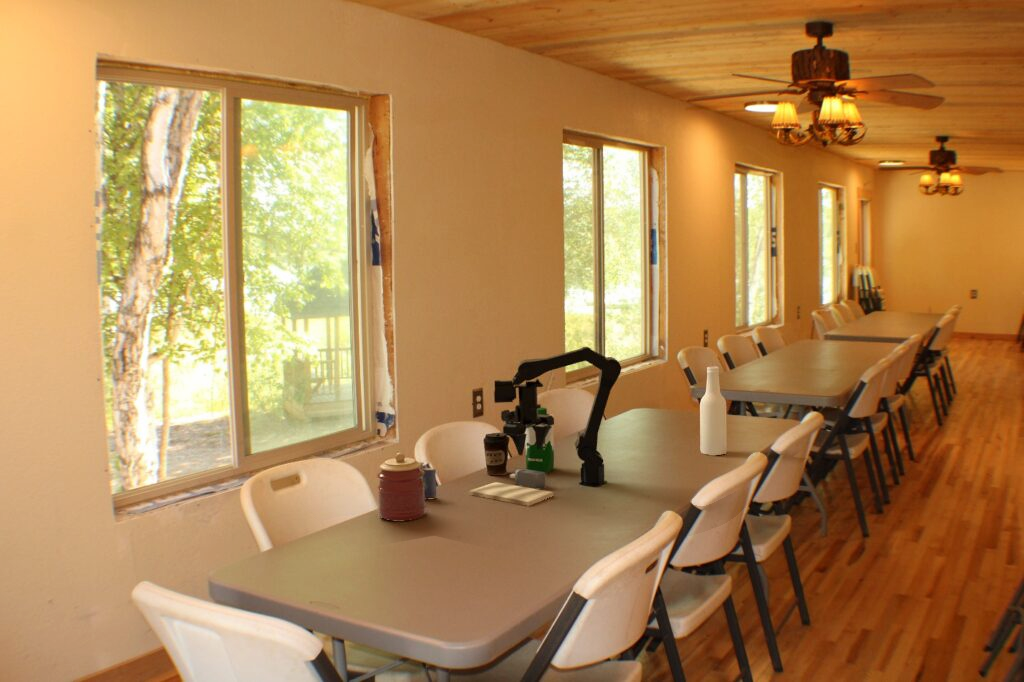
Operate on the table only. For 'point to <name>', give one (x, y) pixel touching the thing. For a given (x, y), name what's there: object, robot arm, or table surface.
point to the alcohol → (713, 416)
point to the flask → (429, 481)
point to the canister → (401, 489)
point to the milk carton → (544, 456)
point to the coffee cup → (496, 453)
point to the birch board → (511, 493)
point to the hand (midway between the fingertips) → (529, 452)
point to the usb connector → (529, 478)
